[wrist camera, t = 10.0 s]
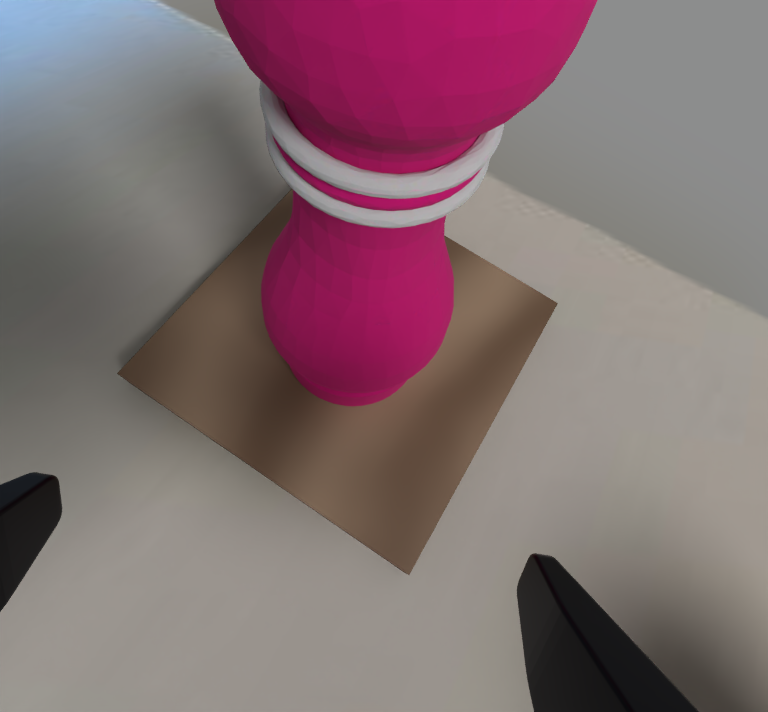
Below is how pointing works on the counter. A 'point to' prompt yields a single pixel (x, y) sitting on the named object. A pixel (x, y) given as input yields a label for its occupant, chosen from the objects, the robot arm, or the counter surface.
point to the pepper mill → (383, 164)
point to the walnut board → (337, 422)
